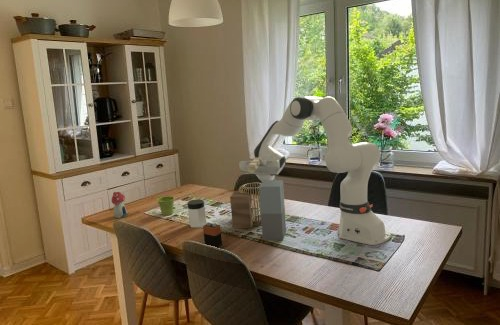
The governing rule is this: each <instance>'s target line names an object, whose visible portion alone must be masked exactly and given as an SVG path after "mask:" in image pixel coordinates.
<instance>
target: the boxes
mask: <svg viewBox="0 0 500 325" xmlns="http://www.w3.org/2000/svg"><path fill="white" fill-rule="evenodd" d="M239 191H240V190H234V192H233V193H232V194H231V195H230V197H229V199H230V210H231V222H232V229H233V228H234V229H252V227H253V226H254V224H253V220H252V208H251V194H247V193H240V192H239ZM258 193H259V194H258V195H259V208H260V220H261V233H262V235H261V236H262V240H264V241H265V240H266V241H269V240H270V241H284V238H285V235H286V232H287V226H286V225H287V224H286V208H285V206H286V205H285V192H284V180H282V179H281V180H279V179H278V180H276V179H275V180H274V179H273V180H272V181H263V182H262V181H261V183H260V184H259V186H258Z"/></svg>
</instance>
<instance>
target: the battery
mask: <svg viewBox="0 0 500 325" xmlns="http://www.w3.org/2000/svg"><path fill="white" fill-rule="evenodd" d="M206 223H207V224H206V225H204V226H202V231H203V240H204V245H205V244H207V245H211V246H215V247H217V248H219V247H221V246H222V245H223V235H222V228H221V226H222V225H220V224H217V222H215V223H214V222H213V223H211V222H206Z"/></svg>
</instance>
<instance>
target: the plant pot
mask: <svg viewBox="0 0 500 325" xmlns="http://www.w3.org/2000/svg"><path fill="white" fill-rule="evenodd" d="M175 199H176V198H175V196H171V195H168V196H162V197H161V196H160V197H159V198H157V200H156V202H158V205H159V208H160V211H161V215H162V216H170V215H173V214H174V202H175Z"/></svg>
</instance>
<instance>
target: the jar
mask: <svg viewBox="0 0 500 325" xmlns="http://www.w3.org/2000/svg"><path fill="white" fill-rule="evenodd" d="M186 204H187V215H188V221H189V226H190V227H191V228H195V229H196V228H197V229H199V228H203V226H204V225H206V224H207V223H208V222H207V215H206V207H205V201H204V200H203V199H199V198H197V199H192V200H188V201H187V203H186Z"/></svg>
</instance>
